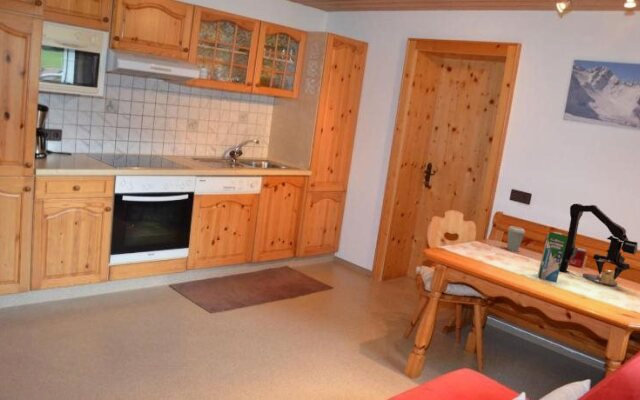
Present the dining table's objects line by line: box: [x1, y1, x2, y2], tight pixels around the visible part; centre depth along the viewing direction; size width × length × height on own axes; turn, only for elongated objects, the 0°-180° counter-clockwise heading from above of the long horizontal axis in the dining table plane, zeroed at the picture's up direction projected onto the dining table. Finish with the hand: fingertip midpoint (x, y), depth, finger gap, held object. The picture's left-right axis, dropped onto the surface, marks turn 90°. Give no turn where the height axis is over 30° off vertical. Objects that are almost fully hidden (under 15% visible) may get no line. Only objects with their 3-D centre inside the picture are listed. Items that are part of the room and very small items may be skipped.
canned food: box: [568, 246, 587, 268], centre depth 354 cm, size 8×8×11 cm
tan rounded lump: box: [598, 271, 614, 285], centre depth 315 cm, size 7×7×5 cm
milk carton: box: [537, 231, 568, 283], centre depth 301 cm, size 9×9×25 cm
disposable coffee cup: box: [506, 225, 526, 252], centre depth 367 cm, size 11×11×15 cm
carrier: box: [582, 269, 618, 287], centre depth 322 cm, size 20×18×6 cm
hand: (607, 276), depth 314 cm, fingers open, 9 cm apart
